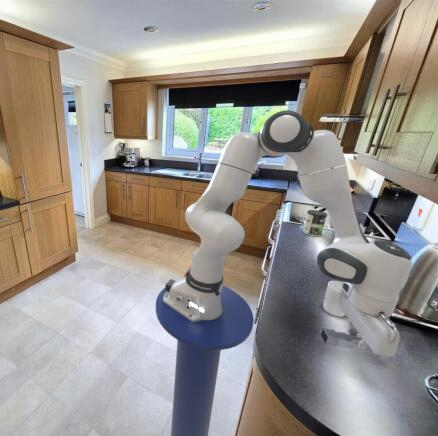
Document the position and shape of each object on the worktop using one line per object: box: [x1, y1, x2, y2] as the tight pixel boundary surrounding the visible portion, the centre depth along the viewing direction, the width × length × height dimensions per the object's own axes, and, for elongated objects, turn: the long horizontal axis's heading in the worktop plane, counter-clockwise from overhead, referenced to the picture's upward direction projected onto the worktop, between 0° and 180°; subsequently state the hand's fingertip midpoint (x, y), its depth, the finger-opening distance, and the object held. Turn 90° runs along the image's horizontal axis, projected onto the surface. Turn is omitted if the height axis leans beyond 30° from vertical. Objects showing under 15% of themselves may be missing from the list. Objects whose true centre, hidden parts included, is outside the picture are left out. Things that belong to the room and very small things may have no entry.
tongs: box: [320, 327, 374, 353], centre depth 69 cm, size 16×4×3 cm, turn 76°
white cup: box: [322, 280, 346, 318], centre depth 86 cm, size 8×8×10 cm
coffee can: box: [302, 209, 328, 237], centre depth 153 cm, size 10×10×14 cm
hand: (355, 340), depth 69 cm, fingers closed on tongs, 3 cm apart
